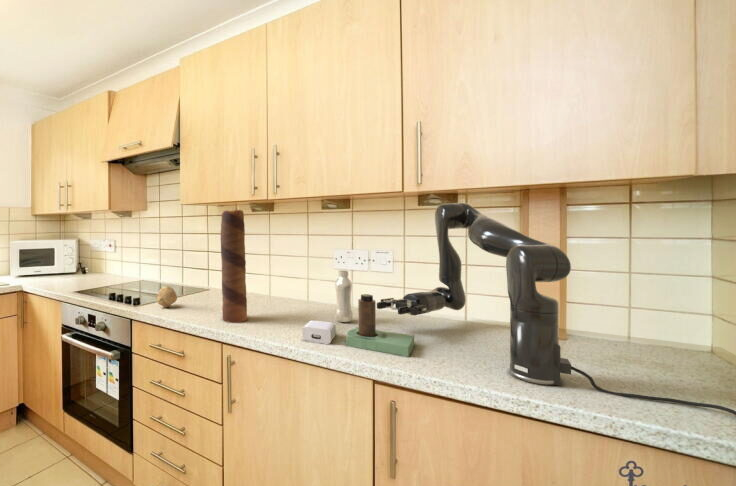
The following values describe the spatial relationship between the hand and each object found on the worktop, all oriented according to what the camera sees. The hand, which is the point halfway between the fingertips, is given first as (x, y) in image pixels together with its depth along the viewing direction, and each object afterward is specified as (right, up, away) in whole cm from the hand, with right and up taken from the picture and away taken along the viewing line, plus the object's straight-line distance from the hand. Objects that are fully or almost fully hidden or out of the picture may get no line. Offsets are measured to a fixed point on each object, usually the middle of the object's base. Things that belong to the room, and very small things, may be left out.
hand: (387, 308), depth 122 cm
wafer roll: (-51, -11, +26) cm, 58 cm away
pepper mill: (-8, -10, -4) cm, 14 cm away
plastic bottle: (-8, -10, +21) cm, 25 cm away
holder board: (-5, -10, -6) cm, 13 cm away
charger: (-21, -11, +4) cm, 24 cm away
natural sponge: (-82, -11, +50) cm, 97 cm away
